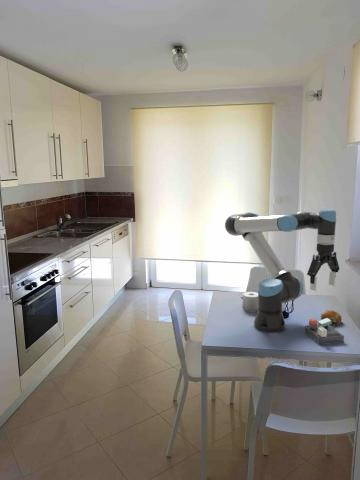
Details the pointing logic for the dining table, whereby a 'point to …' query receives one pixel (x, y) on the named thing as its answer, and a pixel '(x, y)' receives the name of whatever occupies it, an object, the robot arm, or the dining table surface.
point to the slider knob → (322, 332)
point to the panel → (332, 337)
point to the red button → (312, 322)
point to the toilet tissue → (250, 301)
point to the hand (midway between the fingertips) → (322, 287)
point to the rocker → (324, 322)
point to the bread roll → (332, 316)
